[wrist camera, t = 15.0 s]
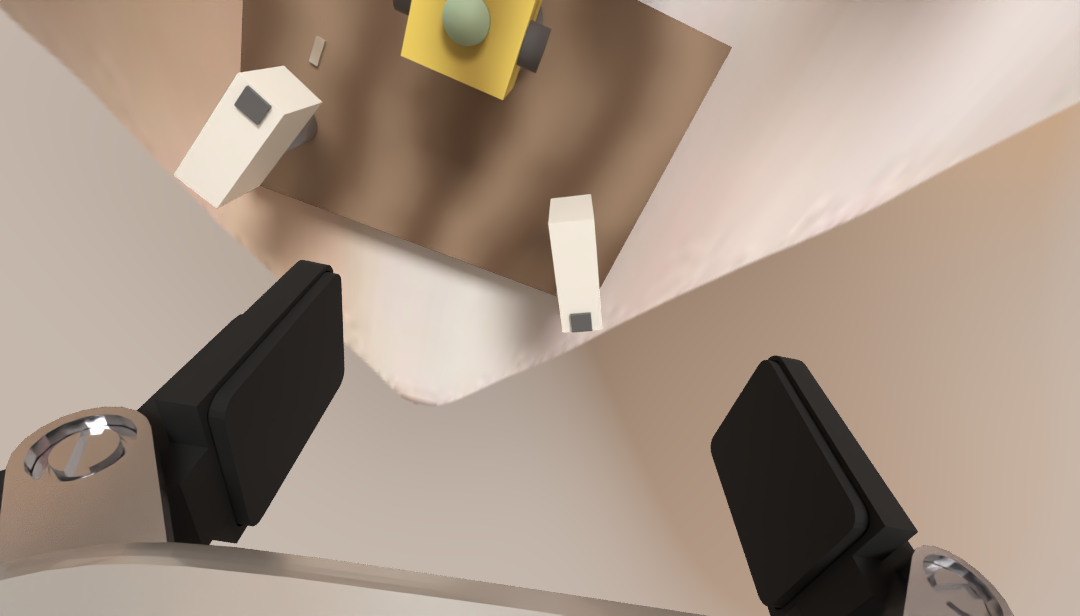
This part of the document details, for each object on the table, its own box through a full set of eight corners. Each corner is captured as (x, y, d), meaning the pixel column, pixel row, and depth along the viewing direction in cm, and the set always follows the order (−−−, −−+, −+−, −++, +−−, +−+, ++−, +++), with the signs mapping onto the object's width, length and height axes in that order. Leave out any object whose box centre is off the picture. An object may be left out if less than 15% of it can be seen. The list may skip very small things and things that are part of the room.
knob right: (550, 184, 30) (546, 225, 24) (590, 180, 29) (596, 219, 23) (562, 278, 33) (560, 334, 27) (597, 275, 33) (604, 331, 27)
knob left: (285, 174, 30) (216, 211, 24) (249, 143, 29) (168, 174, 23) (345, 96, 27) (283, 117, 22) (307, 60, 26) (233, 71, 21)
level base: (254, 168, 32) (163, 211, 25) (272, -177, 23) (135, -270, 16) (588, 294, 36) (593, 363, 29) (721, 45, 27) (778, 54, 20)
